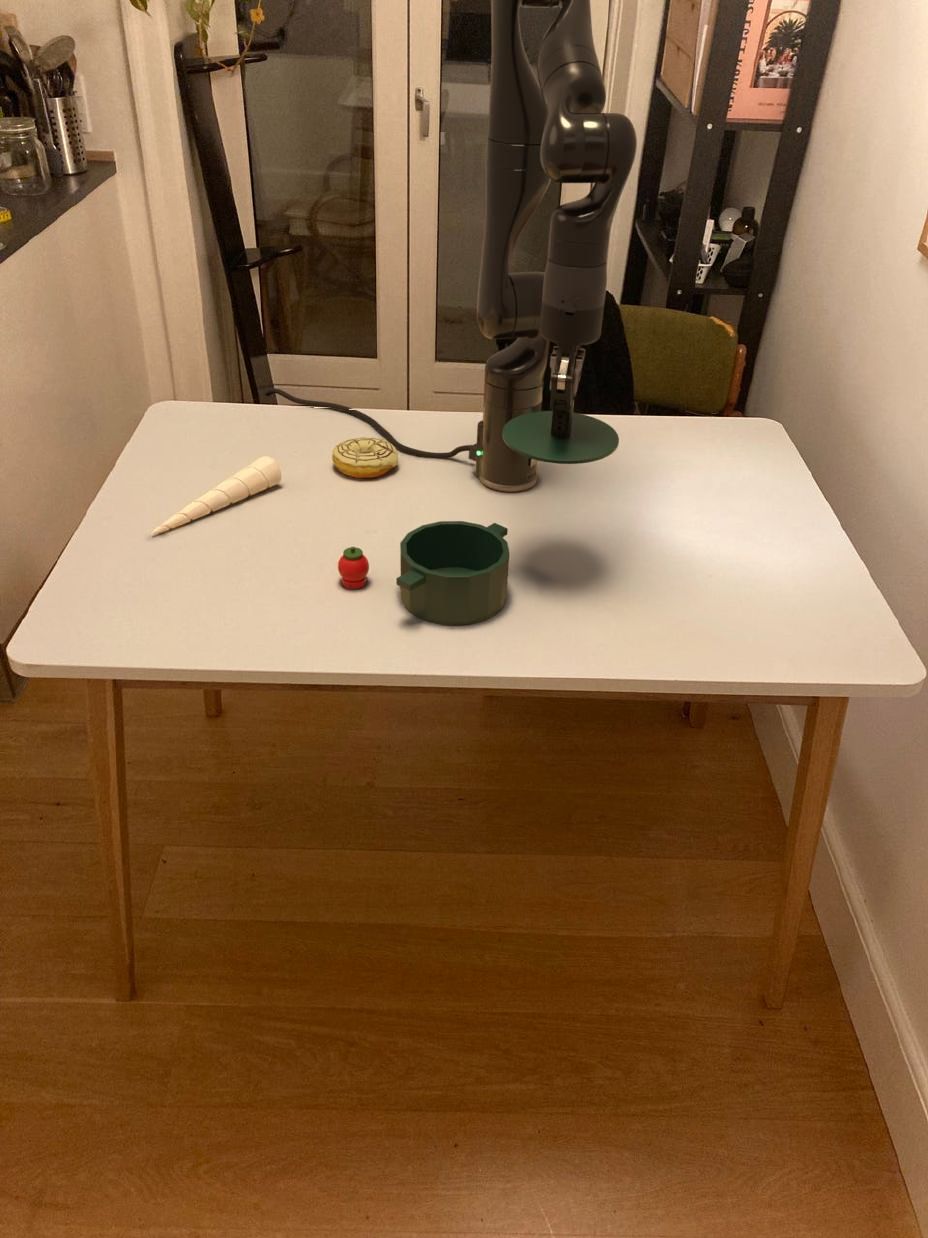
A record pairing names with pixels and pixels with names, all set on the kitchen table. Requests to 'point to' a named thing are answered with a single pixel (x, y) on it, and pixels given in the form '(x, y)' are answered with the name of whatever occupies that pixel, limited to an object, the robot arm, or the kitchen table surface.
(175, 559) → the kitchen table surface
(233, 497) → the unicorn horn
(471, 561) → the pan
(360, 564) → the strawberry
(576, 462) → the lid
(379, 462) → the decorated donut
